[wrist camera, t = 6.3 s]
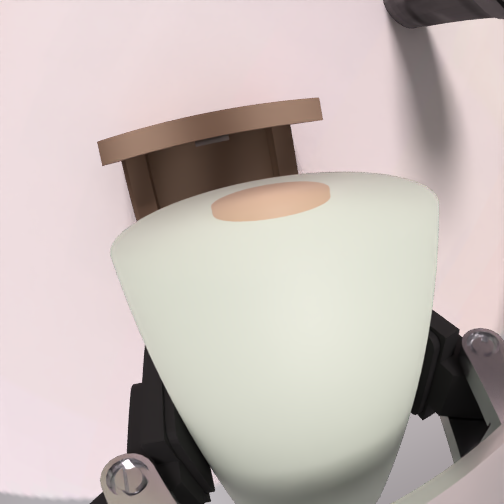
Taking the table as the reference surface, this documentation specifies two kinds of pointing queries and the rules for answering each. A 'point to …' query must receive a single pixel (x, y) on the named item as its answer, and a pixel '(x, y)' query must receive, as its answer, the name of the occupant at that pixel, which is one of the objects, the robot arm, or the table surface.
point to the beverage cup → (442, 11)
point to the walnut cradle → (207, 151)
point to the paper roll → (289, 326)
